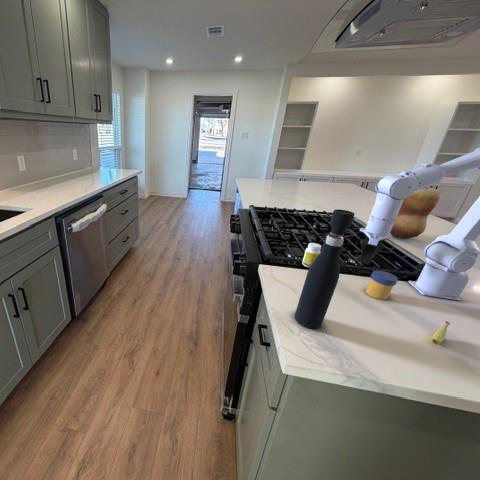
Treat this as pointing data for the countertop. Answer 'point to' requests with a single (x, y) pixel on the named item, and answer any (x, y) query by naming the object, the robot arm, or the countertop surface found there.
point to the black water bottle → (323, 274)
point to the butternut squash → (415, 213)
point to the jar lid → (384, 278)
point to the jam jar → (378, 290)
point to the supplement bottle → (311, 254)
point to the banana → (440, 334)
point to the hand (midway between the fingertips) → (366, 259)
